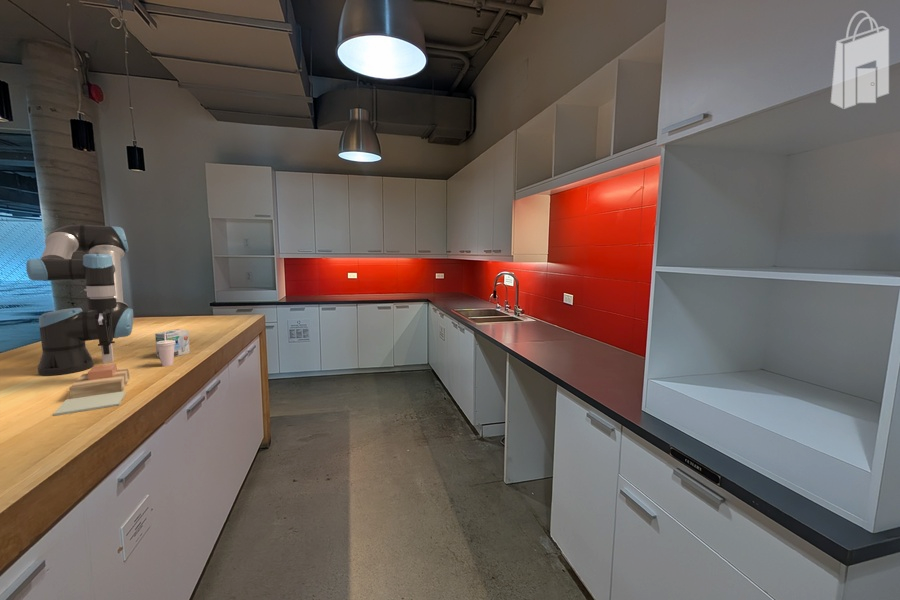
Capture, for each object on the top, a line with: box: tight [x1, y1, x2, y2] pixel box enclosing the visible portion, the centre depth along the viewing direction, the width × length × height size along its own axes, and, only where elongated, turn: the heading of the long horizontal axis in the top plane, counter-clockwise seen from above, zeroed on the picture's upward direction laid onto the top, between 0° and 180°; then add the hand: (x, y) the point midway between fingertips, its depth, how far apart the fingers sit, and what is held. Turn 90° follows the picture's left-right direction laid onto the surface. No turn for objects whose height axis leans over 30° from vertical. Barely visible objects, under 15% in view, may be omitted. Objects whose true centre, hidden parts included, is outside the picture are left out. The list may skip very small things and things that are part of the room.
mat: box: [53, 390, 127, 417], centre depth 114 cm, size 12×14×1 cm
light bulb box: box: [154, 328, 190, 359], centre depth 166 cm, size 11×7×11 cm, turn 167°
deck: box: [69, 368, 130, 399], centre depth 125 cm, size 16×12×4 cm
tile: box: [87, 363, 118, 380], centre depth 128 cm, size 8×6×2 cm
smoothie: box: [155, 331, 175, 367], centre depth 152 cm, size 6×6×14 cm
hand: (108, 362), depth 135 cm, fingers closed
